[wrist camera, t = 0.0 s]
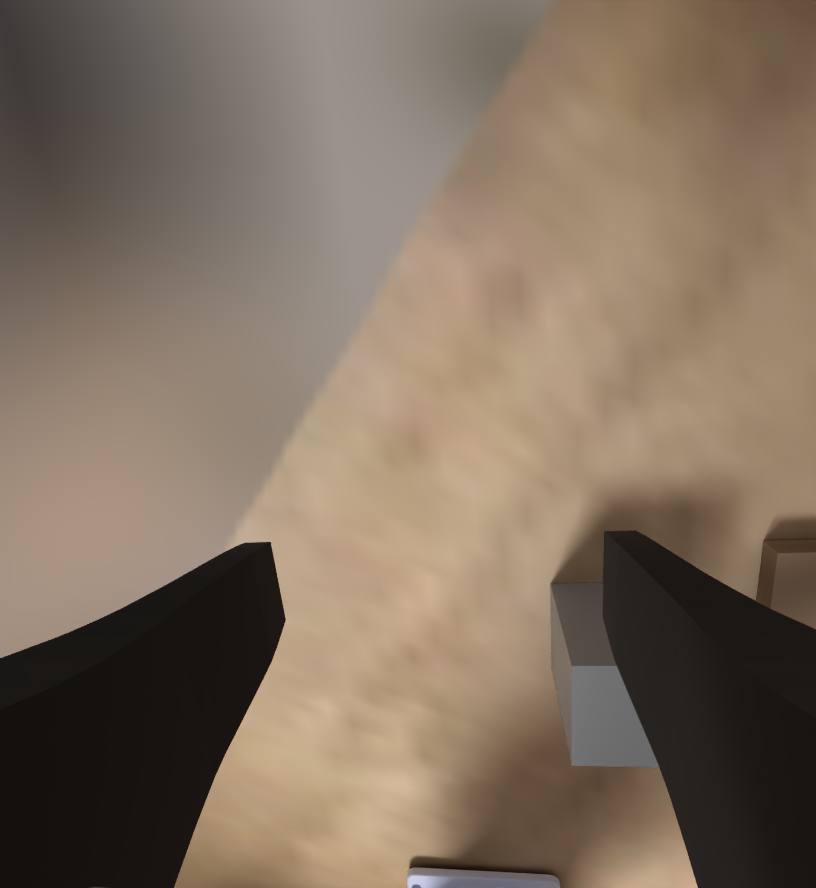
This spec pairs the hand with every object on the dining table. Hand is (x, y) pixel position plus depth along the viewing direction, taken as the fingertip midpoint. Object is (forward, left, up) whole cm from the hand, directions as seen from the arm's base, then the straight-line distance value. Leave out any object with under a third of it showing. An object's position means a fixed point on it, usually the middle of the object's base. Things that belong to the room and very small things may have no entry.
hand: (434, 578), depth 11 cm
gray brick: (-9, -6, -10) cm, 15 cm away
